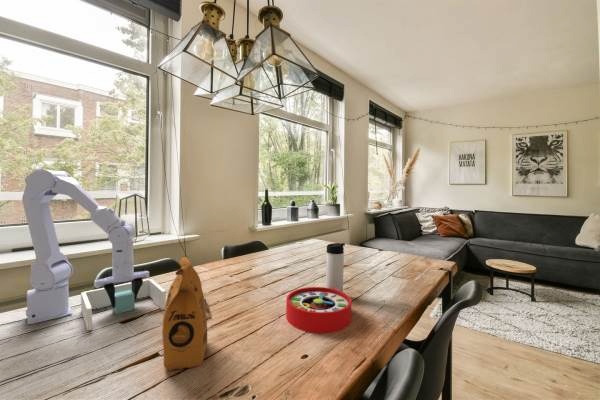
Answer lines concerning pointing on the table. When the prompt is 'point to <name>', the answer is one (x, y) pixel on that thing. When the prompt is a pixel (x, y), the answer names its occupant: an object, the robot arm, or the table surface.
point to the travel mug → (335, 266)
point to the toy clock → (318, 309)
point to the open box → (102, 299)
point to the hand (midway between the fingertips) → (123, 304)
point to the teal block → (124, 301)
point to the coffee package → (184, 320)
